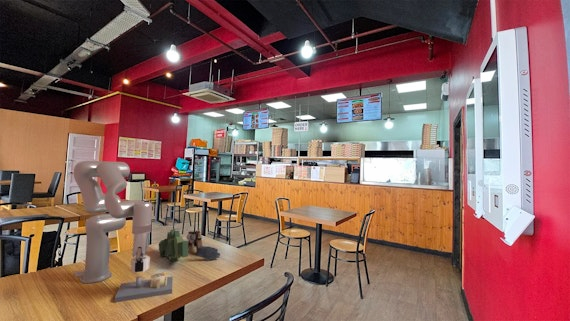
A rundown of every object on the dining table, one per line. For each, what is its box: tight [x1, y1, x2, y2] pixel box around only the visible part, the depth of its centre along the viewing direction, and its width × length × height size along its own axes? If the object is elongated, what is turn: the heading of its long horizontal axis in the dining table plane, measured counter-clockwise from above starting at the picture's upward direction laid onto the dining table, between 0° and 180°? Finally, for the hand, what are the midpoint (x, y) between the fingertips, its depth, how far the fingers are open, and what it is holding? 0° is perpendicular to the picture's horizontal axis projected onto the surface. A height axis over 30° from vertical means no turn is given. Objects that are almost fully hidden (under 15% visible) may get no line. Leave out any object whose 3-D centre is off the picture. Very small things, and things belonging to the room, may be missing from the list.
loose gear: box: [130, 254, 151, 274], centre depth 111 cm, size 7×7×5 cm
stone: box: [195, 245, 221, 262], centre depth 149 cm, size 14×6×10 cm, turn 130°
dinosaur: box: [158, 229, 190, 263], centre depth 148 cm, size 35×12×19 cm, turn 42°
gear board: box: [114, 271, 174, 303], centre depth 112 cm, size 22×13×8 cm, turn 115°
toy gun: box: [186, 230, 203, 254], centre depth 169 cm, size 5×28×15 cm, turn 35°
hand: (140, 267), depth 111 cm, fingers closed on loose gear, 7 cm apart
